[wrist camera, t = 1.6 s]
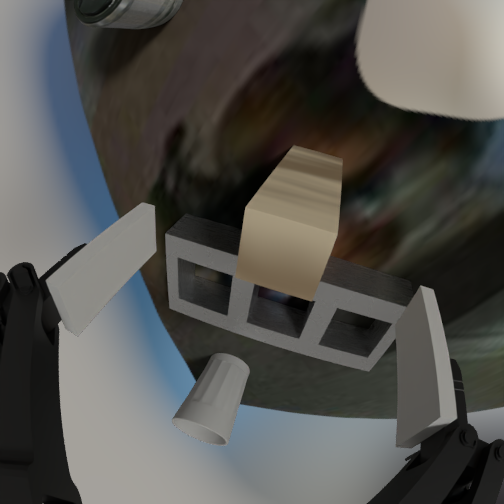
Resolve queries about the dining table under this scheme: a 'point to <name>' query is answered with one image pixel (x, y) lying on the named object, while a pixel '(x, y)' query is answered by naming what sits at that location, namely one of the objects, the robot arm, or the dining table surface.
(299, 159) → the peg
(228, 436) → the cup
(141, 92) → the dining table surface
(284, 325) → the grey slotted block
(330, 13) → the dining table surface
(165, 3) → the camera lens
